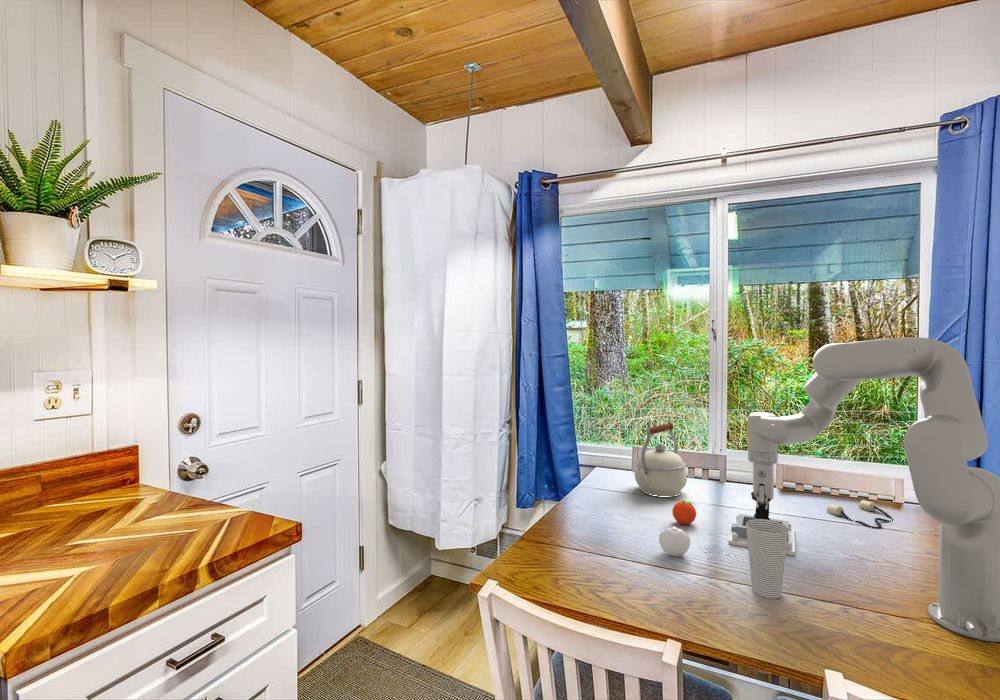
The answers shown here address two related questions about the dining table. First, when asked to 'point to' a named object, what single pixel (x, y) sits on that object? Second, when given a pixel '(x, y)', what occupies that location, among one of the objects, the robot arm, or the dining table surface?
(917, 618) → the dining table surface
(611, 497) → the dining table surface
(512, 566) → the dining table surface
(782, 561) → the cup
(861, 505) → the cable
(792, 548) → the frame
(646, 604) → the dining table surface
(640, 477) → the kettle
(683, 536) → the white rounded piece
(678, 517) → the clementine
